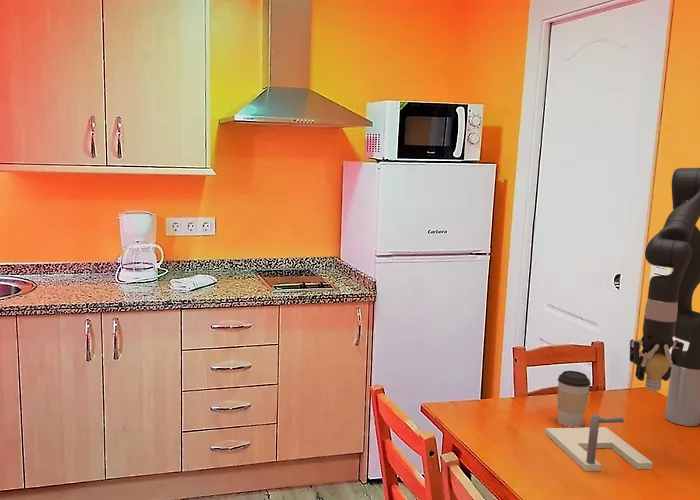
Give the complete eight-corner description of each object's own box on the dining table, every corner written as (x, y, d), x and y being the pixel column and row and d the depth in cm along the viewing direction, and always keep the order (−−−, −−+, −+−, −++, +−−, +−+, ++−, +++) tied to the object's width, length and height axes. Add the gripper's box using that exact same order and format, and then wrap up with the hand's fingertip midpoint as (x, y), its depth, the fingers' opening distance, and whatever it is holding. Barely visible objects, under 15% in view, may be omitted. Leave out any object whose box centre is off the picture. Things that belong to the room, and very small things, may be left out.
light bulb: (654, 395, 172) (658, 357, 170) (633, 387, 177) (637, 350, 176) (671, 392, 175) (675, 354, 173) (650, 384, 180) (654, 347, 179)
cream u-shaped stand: (605, 432, 191) (610, 386, 189) (652, 468, 170) (658, 417, 168) (545, 433, 188) (549, 386, 186) (585, 471, 166) (591, 418, 164)
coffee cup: (582, 418, 201) (587, 369, 198) (589, 430, 192) (595, 379, 189) (550, 415, 201) (555, 367, 199) (557, 427, 192) (562, 377, 190)
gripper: (676, 314, 178) (668, 375, 181) (626, 312, 176) (618, 374, 178) (695, 321, 171) (686, 385, 173) (643, 320, 169) (634, 384, 171)
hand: (652, 379), depth 176 cm, fingers closed on light bulb, 6 cm apart
